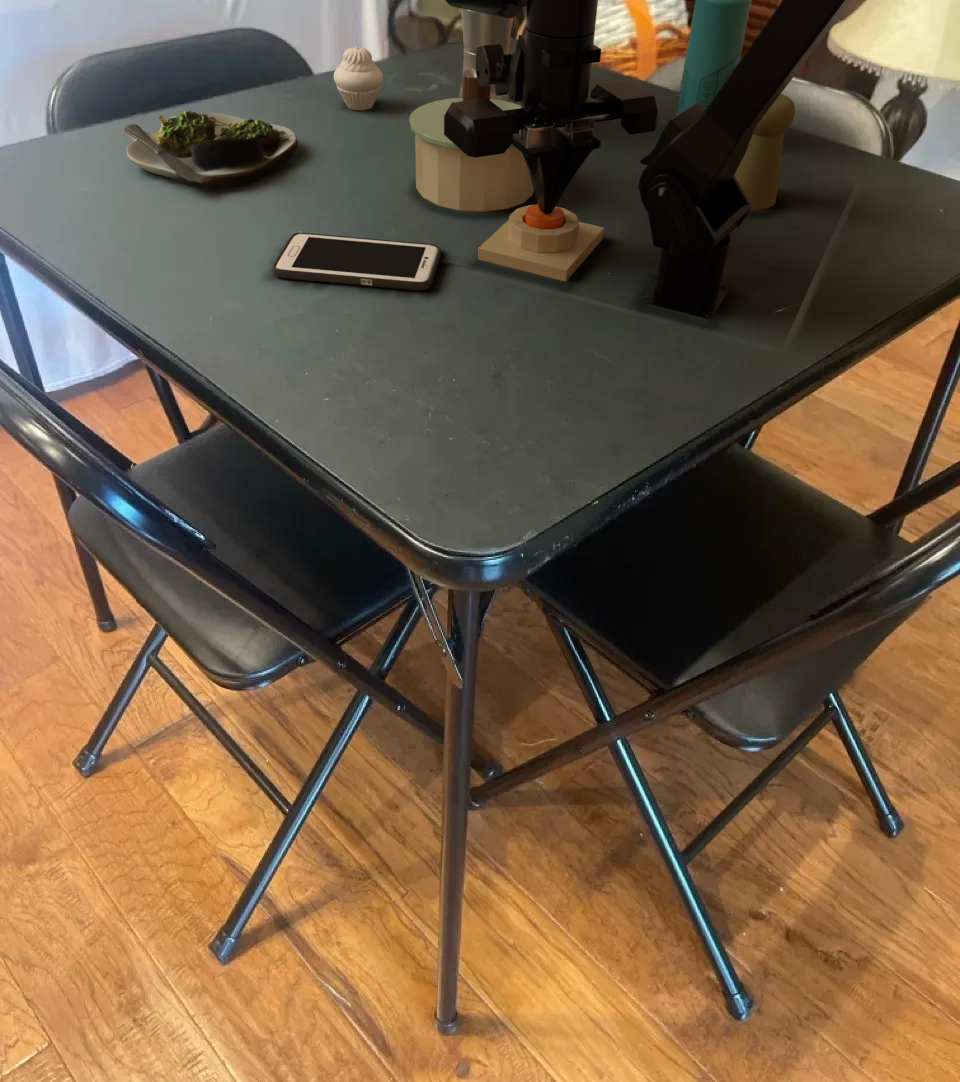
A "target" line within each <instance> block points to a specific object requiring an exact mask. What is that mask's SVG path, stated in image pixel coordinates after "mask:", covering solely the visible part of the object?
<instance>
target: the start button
mask: <svg viewBox="0 0 960 1082" xmlns="http://www.w3.org/2000/svg"><path fill="white" fill-rule="evenodd" d="M531 205H532V206H530V207H528V208H527V210H526V217H525V224H527V225H528V226H530V227H533V228H538V229H556V228H559V227H562V226H563V218H564V212H563V210H562V209H561V208H562V207H560V206H557V205H556V206H555V208H554V210H553V211H552V213H547V214H543V213H542V212H541V211H540V209H539V206H538V203H537V204H531ZM559 207H560V208H559Z"/></svg>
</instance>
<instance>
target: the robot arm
mask: <svg viewBox="0 0 960 1082" xmlns="http://www.w3.org/2000/svg"><path fill="white" fill-rule="evenodd" d="M852 1H853V0H782V1H781V2H780V3H779V4H778V6H777V8H776V9H775V11H774V12H773V13H772V15H771V16H770V18H769V19H768V20H767V22H766V23H765V24H764V26H763V28H761V30H760V32H759V33H758V35H757V36H756V37H755V39H754V40H753V42H752V43H751V44H750V46H749V48H747V50H746V52H745V53H744V54H743V56H742V58H740V62H739V63H738V65H737V66H736V68H735V69H734V70H733V72H732V73H731V75H730V76H729V78H728V79H727V80H726V82H725V83H724V85H723V86H722V88H721V89H720V90H719V92H718V93H717V95H716V96H715V98H714V99H713V100H712V102H711V103H710V105H709V106H708V107H707V108H706V109H705V108H704V107H703V106H702V104H701V103H700V102H699V101H697V102H696V103H694V104H693V105H691V106H690V107H689V108H687V109H686V110H684V111H683V112H681V113H680V114H678V115H677V116H676V115H674V117H672V118H671V119H669V120H668V121H667V123H666V124H665V126H664V128H663V129H662V130H661V131H662V132H661V134H660V136H659V138H658V140H657V143H656V144H655V146H654V148H653V149H652V150H651V151H650V152H649V154H647V155H646V156H645V155H644V157H643V158H641V159H640V161H639V162H640V164H641V165H646V166H645V168H644V169H643V170H642V172H641V175H640V177H639V179H638V186H637V188H638V190H639V195H640V200H641V203H642V205H643V208H644V209H645V211H646V212H647V214H648V215H647V216H648V222H649V226H650V235H651V240H652V244H653V246H654V247H657V248H659V249H661V251H660V254H659V255H660V256H659V261H658V267H657V271H656V277H655V279H654V281H653V283H652V284H651V285H650V287H649V288H648V289H647V291H646V293H645V294H644V295H643V297H642V298H641V302H642V303H644V304H646V305H649V306H650V305H651V306H655V307H659V308H662V309H666V310H670V311H674V312H677V313H682V314H686V315H689V316H693V317H696V318H697V317H698V318H701V319H706V320H711V319H713V318H714V316H715V314H716V312H717V310H718V308H719V307H720V305H721V303H722V302H723V300H724V298H725V297H726V295H727V293H728V291H729V287H727V286H726V285H722V280H723V276H724V271H725V268H726V263H727V259H728V255H729V250H730V246H731V242H732V237H731V235H730V234H732V232H733V231H734V230H735V229H736V228H739V227H740V226H741V225H742V223H743V222H744V220H745V219H746V217H747V216H748V214H749V213H750V212H751V210H752V209H751V208H752V204H751V203H750V201H749V199H748V197H747V196H746V194H745V192H744V191H743V189H742V187H741V186H740V184H739V182H738V181H737V179H736V177H735V176H734V174H735V172H736V171H737V169H738V167H739V165H740V163H741V161H742V159H743V157H744V156H745V153H746V151H747V148H748V145H749V143H750V140H751V137H752V135H753V132H754V130H755V128H756V126H757V124H758V123H759V122H760V120H761V119H762V118H763V116H764V115H765V114H766V112H767V111H768V110H769V108H770V107H771V106H772V105H773V103H774V102H775V101H776V99H777V98H778V97H779V95H780V94H783V92H784V90H785V89H786V88H787V86H788V85H789V84H790V83H791V81H792V80H793V78H795V76H796V74H797V73H798V72H799V71H800V70H801V68H802V66H803V65H804V64H805V63H806V62H807V60H808V59H809V58H810V56H811V55H812V54H813V52H814V51H815V50H816V48H817V47H818V46H819V45H820V43H821V42H822V41H823V39H824V38H825V37H826V35H827V34H828V33H829V31H830V30H831V29H832V28H833V26H834V25H835V24H836V22H837V21H838V20H839V19H840V17H841V16H842V14H843V13H844V12H845V10H847V8H848V7H849V5H850V4H851V3H852ZM445 2H446V3H447V4H448V5H449V6H451V7H453V8H456V9H461V8H462V9H466V10H471V11H476V12H480V13H485V14H490V15H494V16H499V17H504V18H513V19H514V18H515V17H516V16H517V15H518V14H520V12H521V11H522V9H523V8H525V7H526V20H525V33H523V34H518V36H517V40H516V44H515V52H514V53H509V54H507V55H504V51H503V48H502V45H501V44H494V45H485V46H480V47H477V51H476V65H475V68H476V78H477V82H478V84H479V86H488V85H495V93H496V96H499V95H507V94H508V92H509V99H511V102H512V103H520V106H521V108H519V109H511V110H504V111H503V110H502V109H501V108H499V107H498V106H497V105H495V104H494V103H493V102H492V101H490V100H489V99H488V98H484V99H476V100H468V101H460V102H452V103H451V105H450V106H449V108H448V110H447V112H446V113H445V115H444V135H445V136H446V137H447V138H448V139H449V140H450V141H451V142H453V143H454V144H455V145H456V146H457V147H458V148H459V149H460V150H461V151H463V152H464V153H465V154H466V155H467V156H470V157H476V158H477V157H484V156H490V155H497V154H504V153H505V152H506V150H507V149H508V148H509V147H510V145H511V144H512V145H513V146H514V147H516V148H517V149H518V150H519V151H520V152H522V154H523V157H524V159H525V162H526V164H527V167H528V170H529V173H530V177H531V181H532V184H533V188H534V192H533V193H534V196H535V199H536V202H537V204H538V206H539V209H540V211H541V212H542V213H543V214H547V213H552V211H553V210H554V208H555V206H557V205H558V203H559V201H560V200H561V198H562V196H563V195H564V193H565V191H566V189H567V188H568V186H569V184H570V183H571V182H572V180H573V178H574V177H575V175H576V174H577V172H578V171H579V169H580V168H581V167H582V165H583V164H584V163H585V162H586V160H587V158H588V157H589V156H590V154H591V153H592V151H593V150H599V149H600V148H601V145H602V141H601V140H600V139H599V138H598V137H596V136H595V135H594V133H595V124H596V123H600V122H607V121H608V122H609V121H615V120H620V126H621V127H622V128H623V130H624V132H625V133H627V134H628V135H629V136H630V135H631V136H633V135H639V134H645V133H651V132H652V133H653V132H655V131H656V130H657V126H658V123H659V122H658V121H659V114H660V106H659V104H658V103H659V102H658V100H657V98H656V97H655V95H654V94H652V93H650V92H649V91H647V90H646V89H644V88H642V87H640V86H639V85H637V84H636V83H634V82H632V81H630V80H621V81H612V82H605V83H604V82H603V83H597V84H595V85H594V87H592V89H591V91H589V90H590V83H591V82H590V81H591V73H592V72H591V71H592V64H596V63H600V62H601V58H602V48H600V47H599V46H597V45H595V44H594V42H595V33H596V25H597V24H596V23H597V14H598V5H599V4H598V3H599V0H445ZM589 92H590V94H589ZM722 288H723V289H722ZM646 300H648V301H646ZM706 315H707V316H706Z"/></svg>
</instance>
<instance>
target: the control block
mask: <svg viewBox="0 0 960 1082" xmlns="http://www.w3.org/2000/svg"><path fill="white" fill-rule="evenodd" d="M532 205H533V204H529V205H525V206H522V207H518V208H516V209H515V210H514V211H513V212H512V213H511V214H510V215H508V216H509V217H508V220H507V221H505V223H504V224H502V225H501V226H500V227H499V228H498V229H497V230H496V231H495V232H494V233H493V234H492V235H490V237H488V239H486V240H485V241H484V242H483V243H482V244H481V245H480V246H479V247H478V254H477V259H478V260H479V261H483V262H487V263H491V264H495V265H499V266H503V267H506V268H511V269H514V270H519V271H523V272H527V273H530V274H534V275H538V276H542V277H546V278H549V279H550V278H551V279H554V280H558V281H562V282H567V281H568V280H569V279H570V278H571V276H573V274H574V273H575V272H576V271H577V270H578V269H579V268H580V266H581V265H582V264H583V263H584V262H585V260H586V259H587V258H588V257H589V255H591V254H592V252H593V251H594V250H595V249H596V247H597V246H598V245H599V244H600V243H601V242H602V240H603V239H604V234H605V233H604V232H605V227H603V226H600V225H599V226H598V225H595V224H591V223H587V222H582V221H580V220H579V219H578V216H577V214H575V213H573V212H572V211H570V210H568V209H567V208H565V207H560V206H558V207H559V208H561V209H562V210H563V212H564V218H563V226H562V227H559V228H556V229H538V228H533V227H530V226H528V225H527V224H525V217H526V210H527V208H528V207H530V206H532Z"/></svg>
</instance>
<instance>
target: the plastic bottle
mask: <svg viewBox="0 0 960 1082" xmlns="http://www.w3.org/2000/svg"><path fill="white" fill-rule="evenodd" d="M460 15H461V22H462V23H461V24H462V41H463V60H462V61H463V63H462V71H461V72H462V73H461V86H460V89H459V94H458V98H462V85H463V72H464V71H466V70H469V69H476V68H475V65H476V51H477V47H480V46H485V45H494V44H501V45H502V48H503V51H504V55H507V54H510V48H509V47H510V44H511V36H512V35H511V33H512V26H513V22H514V21H513V20H514V17H513V18H504V17H499V16H494V15H490V14H485V13H480V12H476V11H471V10H466V9H462V8H460ZM490 99H496V100H502V101H507V102H511V103H512V100H511V99H509V92H508V94H507V95H499V96H496V93H495V85H490Z"/></svg>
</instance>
